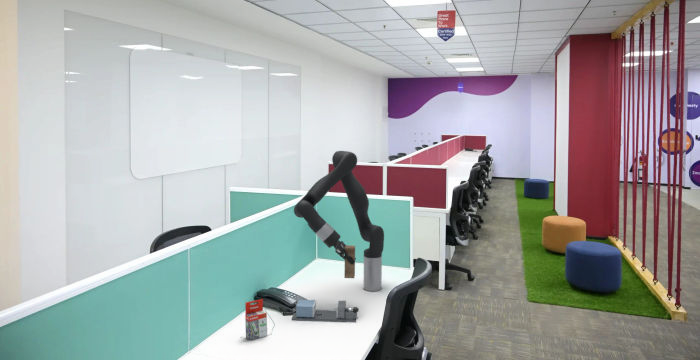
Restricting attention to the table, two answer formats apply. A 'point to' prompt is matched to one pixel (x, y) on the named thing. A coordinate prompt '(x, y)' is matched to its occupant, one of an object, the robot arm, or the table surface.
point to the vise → (333, 314)
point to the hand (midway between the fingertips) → (354, 261)
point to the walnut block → (348, 267)
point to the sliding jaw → (306, 308)
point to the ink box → (255, 320)
